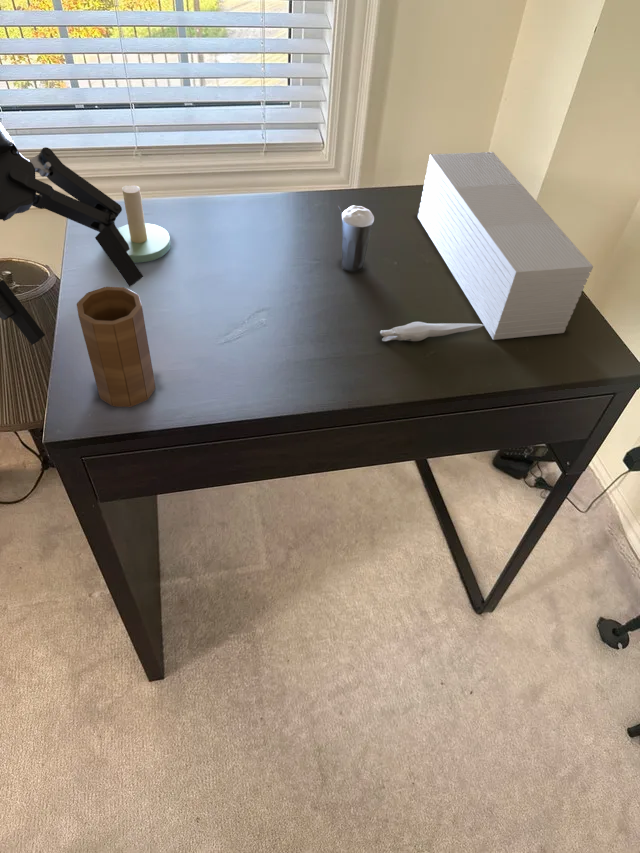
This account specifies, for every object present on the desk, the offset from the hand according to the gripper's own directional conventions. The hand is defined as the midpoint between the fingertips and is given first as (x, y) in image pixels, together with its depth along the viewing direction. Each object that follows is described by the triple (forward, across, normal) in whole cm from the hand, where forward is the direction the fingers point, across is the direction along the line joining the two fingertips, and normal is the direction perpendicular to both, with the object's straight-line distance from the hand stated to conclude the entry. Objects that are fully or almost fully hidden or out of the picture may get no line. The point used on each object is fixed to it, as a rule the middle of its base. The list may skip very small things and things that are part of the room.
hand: (90, 309), depth 70 cm
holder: (-6, +22, +19) cm, 30 cm away
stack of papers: (+25, +51, -11) cm, 58 cm away
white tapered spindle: (+26, +32, -12) cm, 43 cm away
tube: (+9, 0, +4) cm, 10 cm away
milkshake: (+14, +38, 0) cm, 41 cm away
